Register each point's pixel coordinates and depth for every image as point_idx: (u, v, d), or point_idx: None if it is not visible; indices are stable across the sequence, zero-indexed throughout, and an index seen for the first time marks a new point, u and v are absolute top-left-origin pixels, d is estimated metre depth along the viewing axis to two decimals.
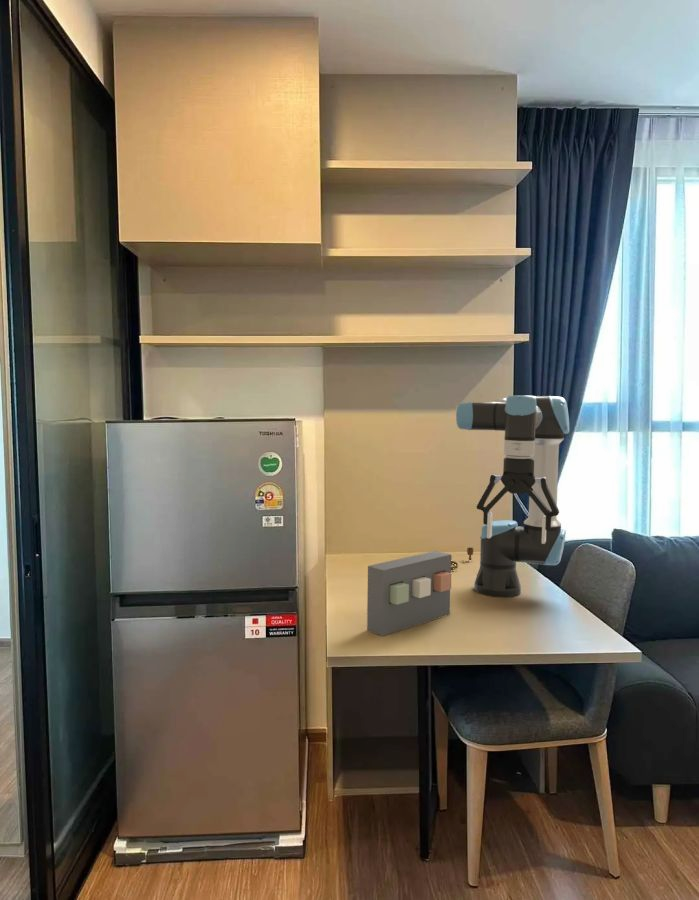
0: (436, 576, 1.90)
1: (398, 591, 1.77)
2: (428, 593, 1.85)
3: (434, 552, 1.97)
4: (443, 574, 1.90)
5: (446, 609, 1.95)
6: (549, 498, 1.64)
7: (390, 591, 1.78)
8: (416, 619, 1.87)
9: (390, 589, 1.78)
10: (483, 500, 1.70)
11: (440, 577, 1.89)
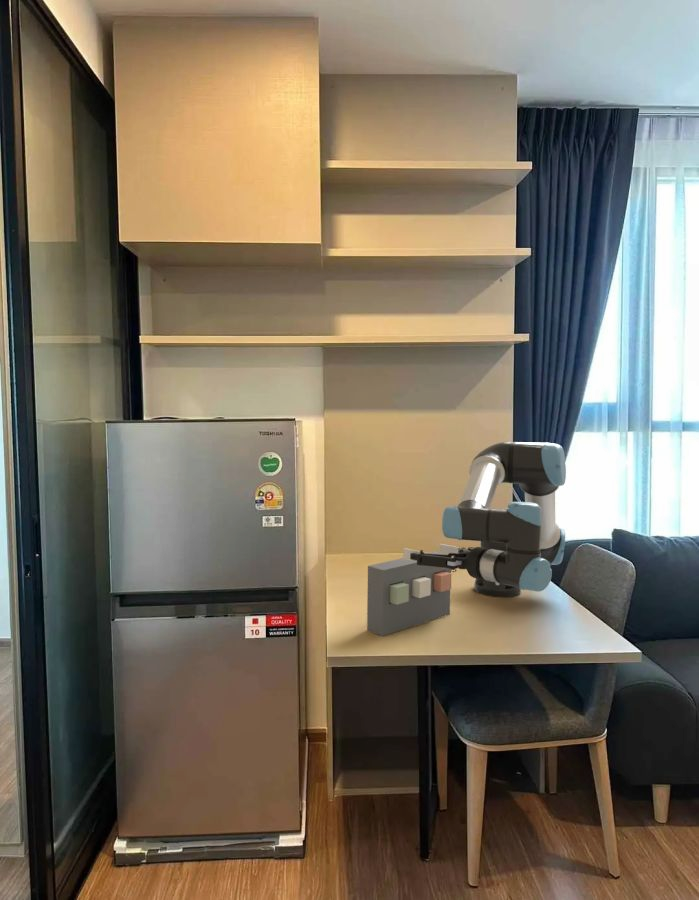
0: (436, 576, 1.90)
1: (398, 591, 1.77)
2: (428, 593, 1.85)
3: (434, 552, 1.97)
4: (443, 574, 1.90)
5: (446, 609, 1.95)
6: None
7: (390, 591, 1.78)
8: (416, 619, 1.87)
9: (390, 589, 1.78)
10: None
11: (440, 577, 1.89)
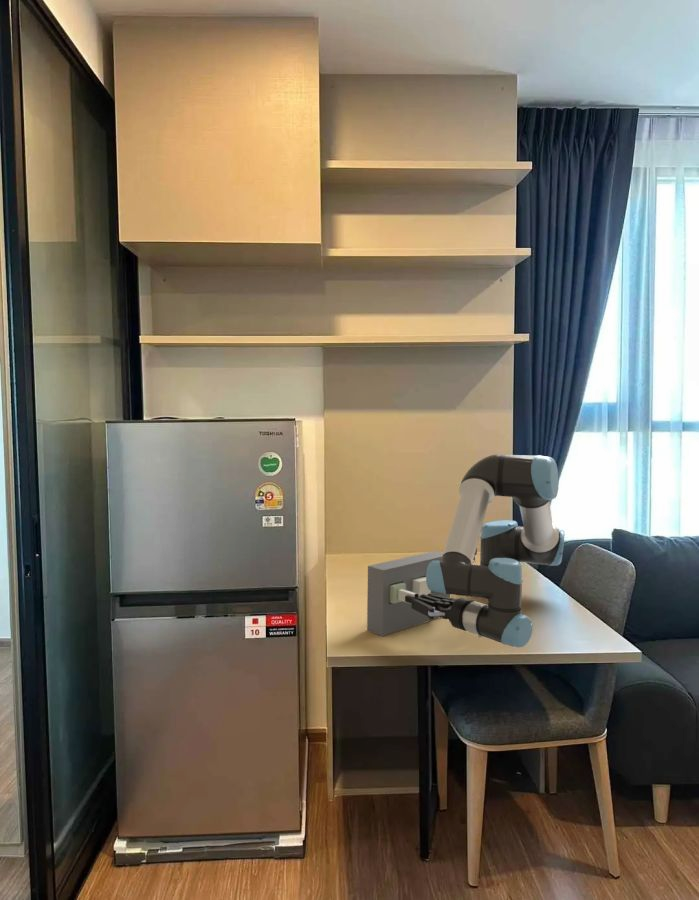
0: None
1: (394, 590, 1.78)
2: (428, 593, 1.85)
3: (434, 552, 1.97)
4: None
5: None
6: None
7: None
8: (416, 619, 1.87)
9: None
10: None
11: None
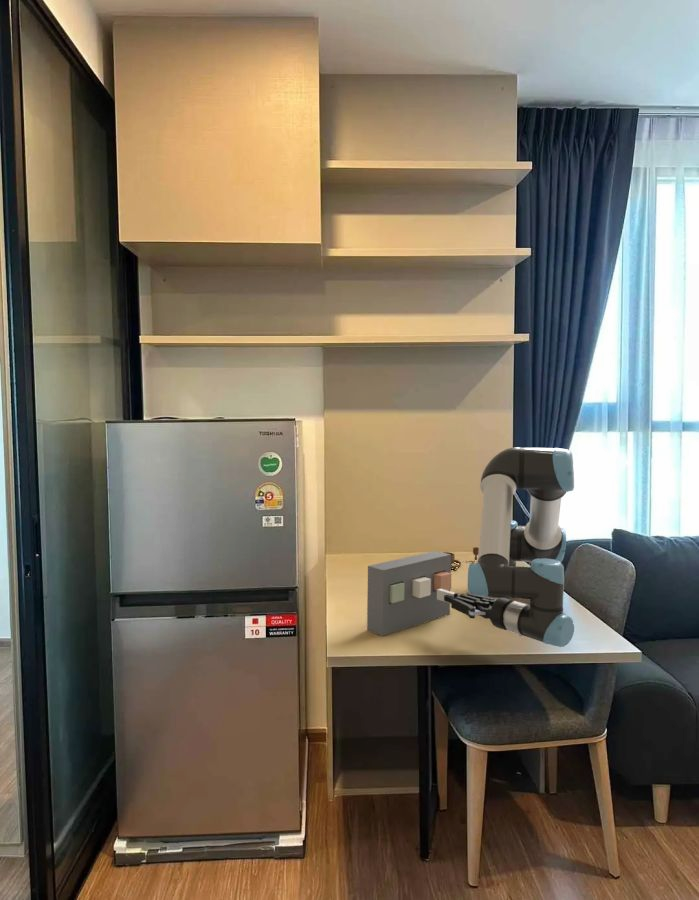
0: (436, 576, 1.90)
1: (393, 589, 1.78)
2: (428, 593, 1.85)
3: (434, 552, 1.97)
4: (443, 574, 1.90)
5: (446, 609, 1.95)
6: None
7: None
8: (416, 619, 1.87)
9: None
10: None
11: (440, 577, 1.89)
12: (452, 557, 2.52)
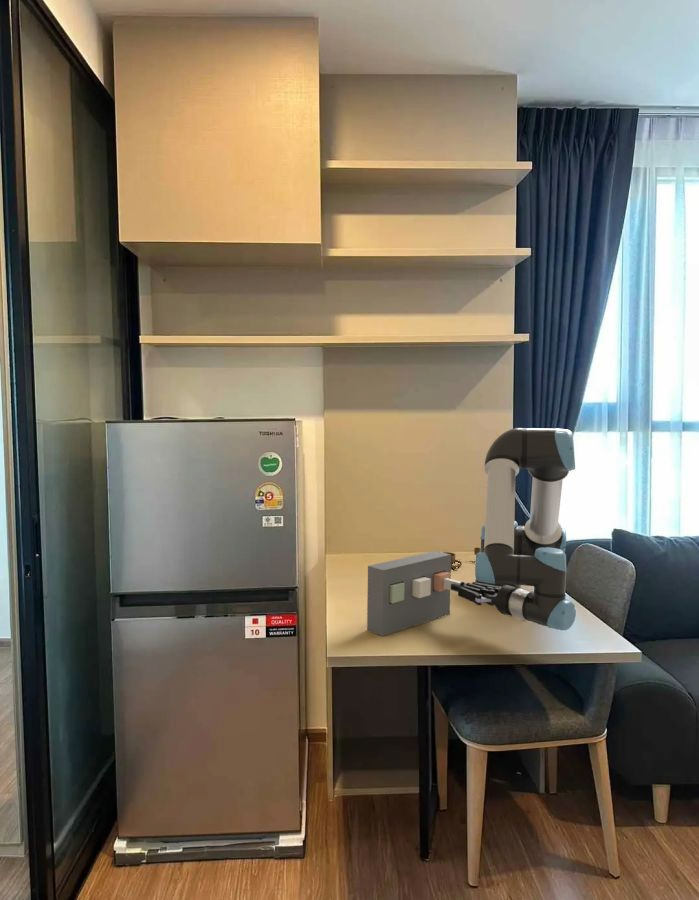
0: (435, 576, 1.90)
1: (393, 589, 1.78)
2: (428, 593, 1.85)
3: (434, 552, 1.97)
4: (442, 574, 1.91)
5: (446, 609, 1.95)
6: None
7: None
8: (416, 619, 1.87)
9: None
10: None
11: (439, 577, 1.89)
12: (453, 557, 2.52)
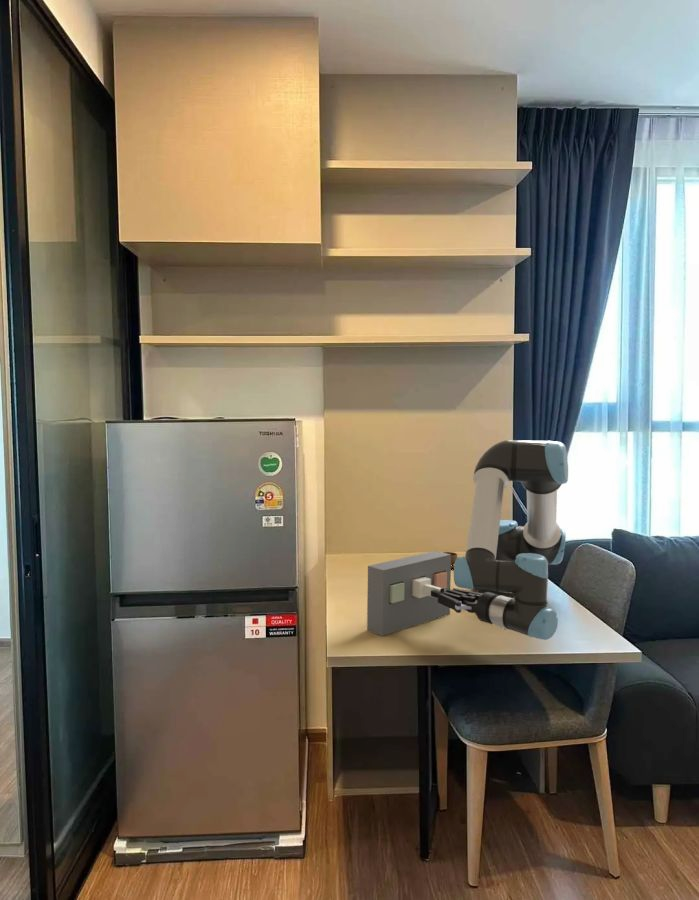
0: None
1: (393, 589, 1.78)
2: None
3: (434, 552, 1.97)
4: (439, 573, 1.92)
5: (446, 609, 1.95)
6: None
7: None
8: (416, 619, 1.87)
9: None
10: None
11: (436, 576, 1.90)
12: (454, 557, 2.52)
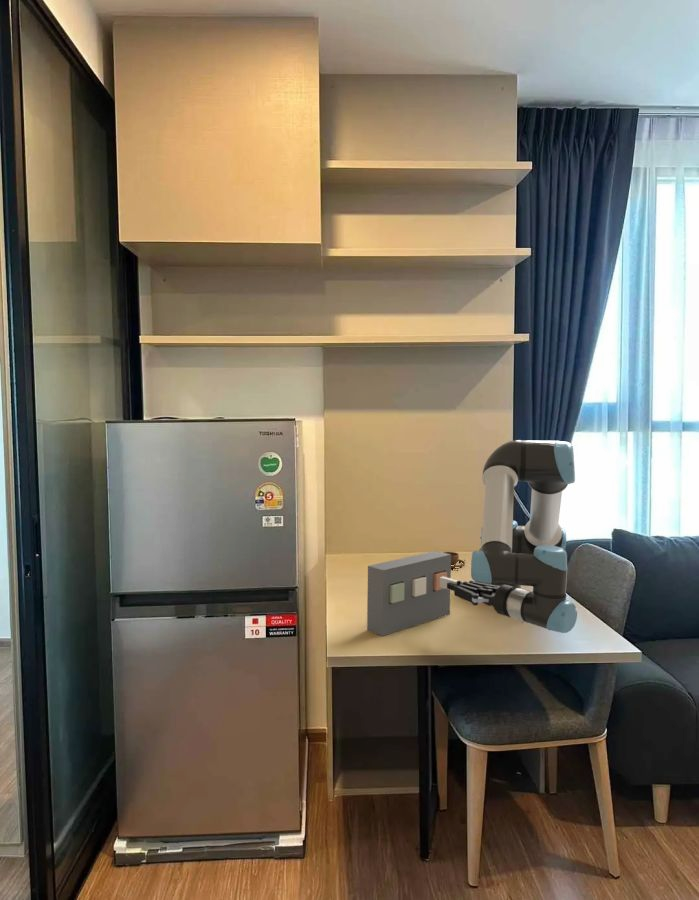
0: None
1: (393, 589, 1.78)
2: (424, 592, 1.87)
3: (434, 552, 1.97)
4: (439, 573, 1.92)
5: (446, 609, 1.95)
6: None
7: None
8: (416, 619, 1.87)
9: None
10: None
11: (436, 576, 1.90)
12: (455, 557, 2.52)
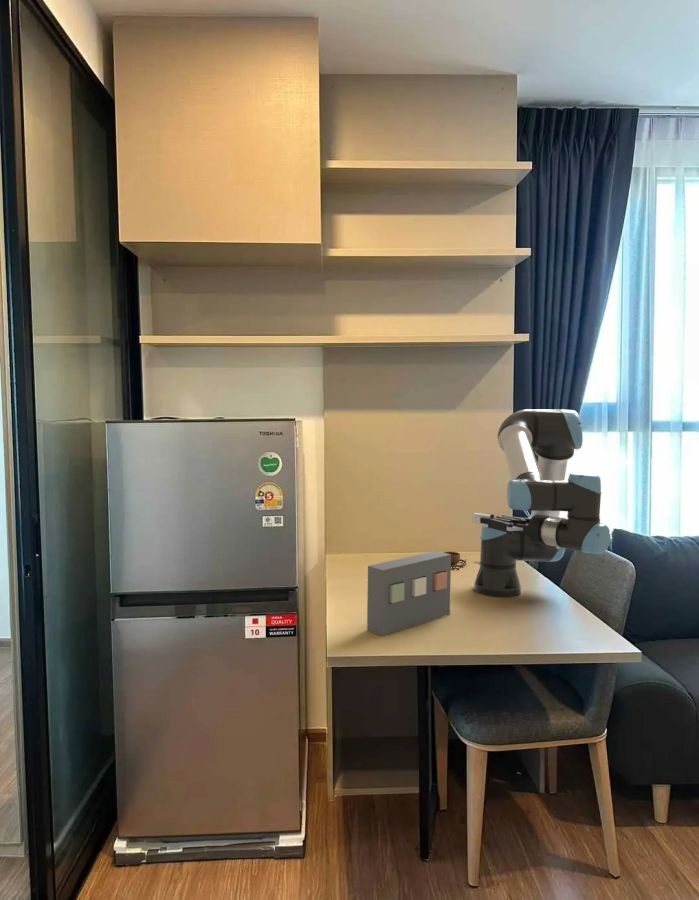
0: None
1: (393, 589, 1.78)
2: (424, 592, 1.87)
3: (434, 552, 1.97)
4: (439, 573, 1.92)
5: (446, 609, 1.95)
6: None
7: None
8: (416, 619, 1.87)
9: None
10: (496, 528, 1.79)
11: (436, 576, 1.90)
12: (456, 557, 2.53)
